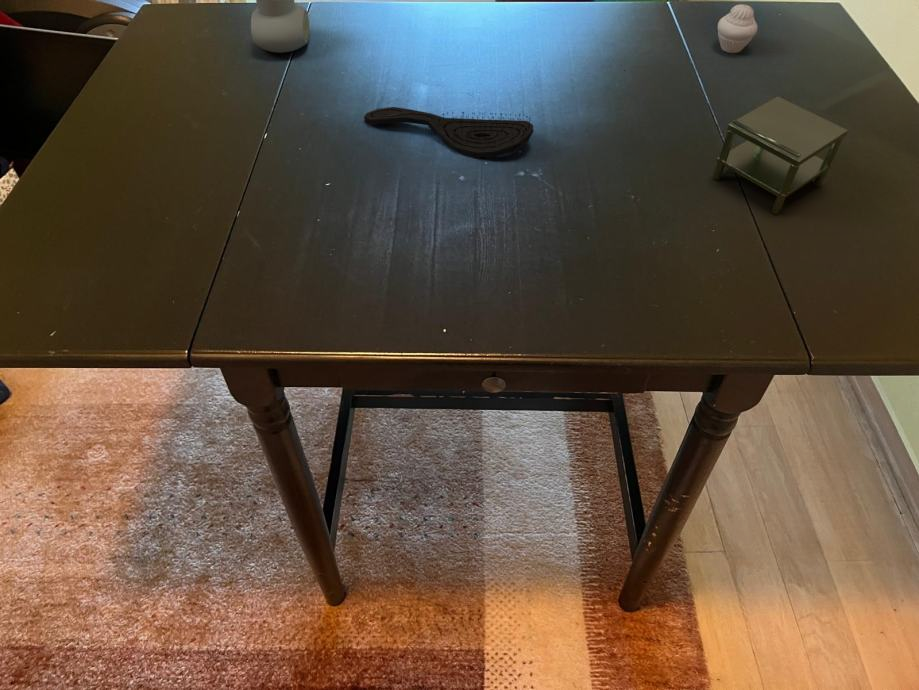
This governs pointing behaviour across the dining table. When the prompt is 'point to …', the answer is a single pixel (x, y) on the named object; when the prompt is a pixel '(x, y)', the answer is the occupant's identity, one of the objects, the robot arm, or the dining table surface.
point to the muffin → (737, 28)
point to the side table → (780, 148)
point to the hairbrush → (462, 130)
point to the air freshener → (279, 25)
